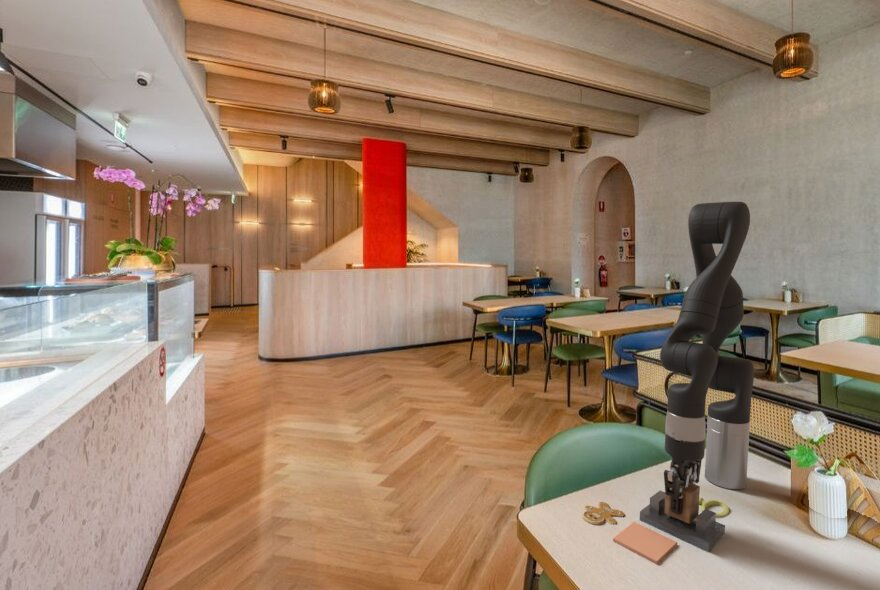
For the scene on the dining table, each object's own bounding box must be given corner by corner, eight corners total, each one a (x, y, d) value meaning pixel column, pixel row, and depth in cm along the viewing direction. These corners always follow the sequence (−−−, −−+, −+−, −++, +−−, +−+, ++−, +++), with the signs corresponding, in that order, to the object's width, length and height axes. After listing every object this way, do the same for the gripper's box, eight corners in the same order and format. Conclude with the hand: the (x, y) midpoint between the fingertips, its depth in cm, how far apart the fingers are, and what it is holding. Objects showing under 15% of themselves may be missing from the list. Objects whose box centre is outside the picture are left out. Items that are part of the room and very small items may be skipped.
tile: (634, 524, 96) (634, 521, 96) (676, 544, 89) (676, 542, 89) (612, 540, 90) (612, 538, 90) (656, 564, 83) (656, 561, 83)
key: (672, 491, 110) (672, 483, 110) (730, 509, 102) (730, 500, 102) (665, 504, 104) (666, 495, 104) (726, 523, 97) (727, 514, 97)
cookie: (630, 514, 99) (602, 528, 93) (630, 518, 99) (602, 532, 93) (599, 497, 106) (572, 510, 100) (599, 501, 106) (571, 513, 100)
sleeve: (674, 504, 98) (675, 477, 98) (698, 514, 94) (699, 486, 94) (664, 513, 95) (665, 484, 94) (689, 523, 91) (690, 494, 91)
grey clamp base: (657, 505, 103) (659, 473, 102) (724, 534, 92) (726, 498, 92) (639, 519, 97) (640, 485, 97) (708, 552, 86) (710, 514, 86)
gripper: (680, 420, 100) (677, 489, 102) (651, 436, 92) (649, 512, 93) (716, 429, 95) (713, 503, 96) (689, 448, 86) (686, 529, 87)
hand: (681, 507), depth 95 cm, fingers closed on sleeve, 5 cm apart
